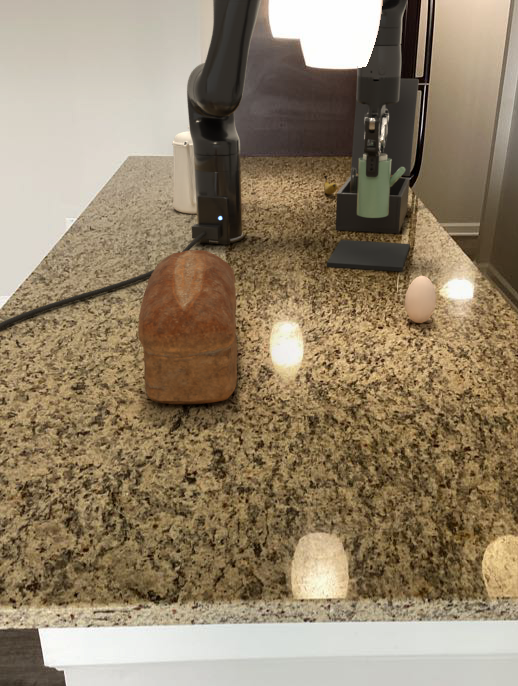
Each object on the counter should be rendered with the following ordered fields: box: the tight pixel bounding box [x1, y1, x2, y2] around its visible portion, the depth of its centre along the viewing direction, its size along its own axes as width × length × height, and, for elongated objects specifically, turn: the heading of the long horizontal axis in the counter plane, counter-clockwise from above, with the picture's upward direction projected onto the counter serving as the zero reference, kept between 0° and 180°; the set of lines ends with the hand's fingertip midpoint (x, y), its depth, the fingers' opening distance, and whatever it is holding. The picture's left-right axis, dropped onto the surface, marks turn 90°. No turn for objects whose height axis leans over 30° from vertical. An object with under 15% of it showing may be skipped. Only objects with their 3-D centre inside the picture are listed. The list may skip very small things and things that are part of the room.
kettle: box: [350, 153, 405, 218], centre depth 146 cm, size 10×6×12 cm, turn 78°
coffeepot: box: [172, 124, 197, 215], centre depth 181 cm, size 11×25×19 cm, turn 179°
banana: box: [323, 175, 338, 196], centre depth 198 cm, size 10×2×4 cm, turn 10°
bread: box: [137, 249, 238, 405], centre depth 105 cm, size 12×31×14 cm, turn 4°
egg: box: [404, 275, 437, 324], centre depth 120 cm, size 5×5×7 cm
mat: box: [326, 239, 411, 273], centre depth 152 cm, size 16×14×1 cm
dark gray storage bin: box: [335, 174, 410, 234], centre depth 175 cm, size 20×14×8 cm
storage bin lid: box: [350, 78, 420, 177], centre depth 179 cm, size 20×14×1 cm
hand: (374, 172), depth 145 cm, fingers closed on kettle, 6 cm apart
